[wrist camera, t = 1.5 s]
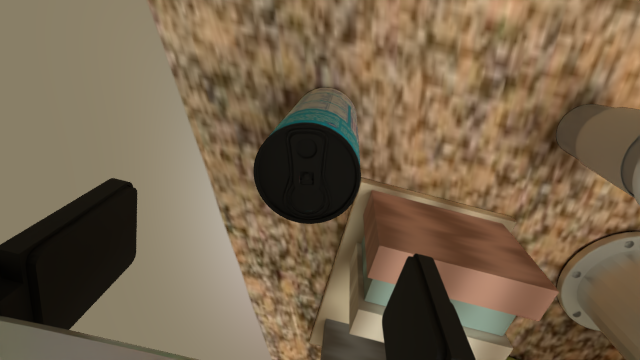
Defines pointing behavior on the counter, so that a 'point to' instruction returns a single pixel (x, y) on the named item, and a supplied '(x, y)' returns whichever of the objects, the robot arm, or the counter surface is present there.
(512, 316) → the book rack
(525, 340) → the counter surface
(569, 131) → the cup
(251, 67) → the counter surface
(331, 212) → the beverage can
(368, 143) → the counter surface
